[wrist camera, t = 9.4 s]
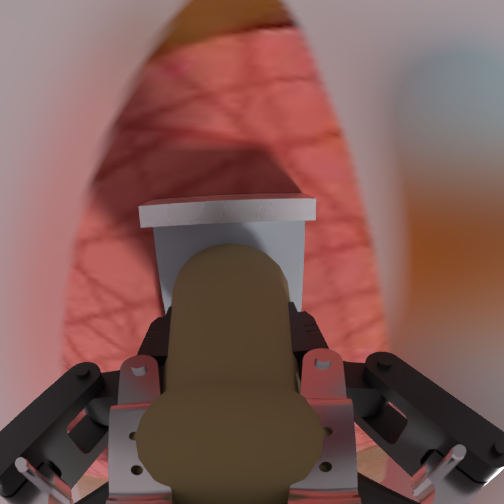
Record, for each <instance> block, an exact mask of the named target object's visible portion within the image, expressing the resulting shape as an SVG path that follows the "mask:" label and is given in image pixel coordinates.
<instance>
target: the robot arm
mask: <svg viewBox="0 0 504 504" xmlns="http://www.w3.org/2000/svg"><path fill="white" fill-rule="evenodd" d="M288 308H289V320H290V332H291V345H292V352H293V354H294V356H295V358H296V359H297V361H298V367H299V376H300V385H301V386H300V395H302V396H304V397H305V398H306V400H307V402H308V403H309V404H310V406H311V407H312V408H313V409H314V410H315V411H316V413H317V415H318V418H319V420H320V423H321V426H322V428H324V429H326V430H327V431H328V432H329V433H330V436H324V438H323V446H322V454H321V457H320V458H319V460H318V461H317V463H316V464H315V466H314V467H313V469H312V470H311V472H310V473H309V475H308V476H307V477H306V479H304V480H302V481H299V482H297V483H295V484H292V485H290V489H289V494H288V498H287V503H286V504H470V503H471V501H472V500H473V499H474V498H475V497H476V495H477V494H478V493H479V491H480V490H481V488H482V487H483V486H485V485H486V484H487V483H488V482H489V481H490V480H492V479H493V478H494V477H495V476H496V475H497V474H498V473H499V472H501V471H502V470H503V469H504V432H503V431H502V430H500V429H499V428H497V427H496V426H494V425H493V424H492V423H490V422H489V421H487V420H486V419H484V418H483V417H482V416H480V415H479V414H478V413H476V412H475V411H473V410H472V409H471V408H469V407H467V406H466V405H465V404H463V403H462V402H460V401H459V400H458V399H456V398H455V397H454V396H452V395H451V394H449V393H448V392H446V391H445V390H444V389H442V388H441V387H439V386H438V385H437V384H435V383H434V382H432V381H431V380H430V379H428V378H427V377H425V376H424V375H422V374H421V373H420V372H418V371H417V370H415V369H414V368H413V367H411V366H410V365H408V364H407V363H406V362H404V361H403V360H401V359H400V358H398V357H397V356H395V355H394V354H391V353H388V352H376V353H373V354H371V355H369V356H368V357H367V359H366V362H365V363H353V362H346V361H343V359H342V357H341V356H340V354H338V353H337V352H335V351H333V350H330V349H329V348H328V346H327V343H326V341H325V339H324V337H323V335H322V333H321V331H320V330H319V327H318V325H317V323H316V321H315V320H314V318H313V316H311V315H310V314H308V313H307V312H306V311H304V312H298V311H297V309H296V306H295V304H294V302H288ZM171 313H172V306H170V307H169V308H168V310H167V313H166V315H165V317H158V318H157V319H156V320H154V321H153V322H152V323H151V325H150V327H149V329H148V332H147V333H146V336H145V338H144V340H143V342H142V344H141V347H140V349H139V351H138V354H137V355H136V356H133V357H130V358H128V359H127V360H125V361H124V362H123V364H122V365H121V368H120V370H118V371H112V372H105V373H101V371H100V369H99V367H98V366H97V365H96V364H94V363H91V362H83V363H79V364H77V365H75V366H73V367H72V368H71V369H70V370H68V371H67V372H66V373H65V374H64V375H63V376H61V377H60V378H59V379H58V380H57V381H56V382H55V383H54V384H52V385H51V386H50V387H49V388H48V389H47V390H45V391H44V392H43V393H42V394H41V395H40V396H39V397H38V398H36V399H35V400H34V401H33V402H32V403H31V404H30V405H29V406H28V407H26V408H25V409H24V410H23V411H22V412H21V413H20V414H19V415H18V416H17V417H15V418H14V419H13V420H12V421H11V422H10V423H9V424H8V425H7V426H6V427H5V428H3V429H2V430H1V431H0V497H2V498H3V499H4V500H6V501H7V502H8V503H9V504H73V500H72V498H71V497H72V495H71V489H72V488H73V487H74V485H75V484H76V483H77V482H78V480H79V479H80V478H81V477H82V476H83V474H84V473H85V472H86V471H87V469H88V468H89V467H90V466H91V465H92V463H93V462H94V461H95V460H96V458H97V457H98V456H99V455H100V454H101V452H102V451H103V450H104V449H105V447H106V446H107V445H108V477H109V481H108V482H106V483H105V484H103V485H102V486H101V487H99V488H98V489H96V490H95V491H93V492H92V493H90V494H89V495H87V496H85V497H84V498H82V499H81V500H79V501H78V502H76V503H74V504H179V503H178V501H177V499H176V498H175V496H174V494H173V492H172V489H171V487H168V486H165V485H163V484H160V483H158V482H157V481H155V480H154V479H153V478H152V477H151V475H150V474H149V473H148V471H147V470H146V469H145V467H144V466H143V464H142V463H141V461H140V460H139V459H138V453H137V447H136V440H131V438H132V436H133V435H134V433H136V432H137V429H138V426H139V423H140V419H141V417H142V416H143V414H144V413H145V412H146V410H147V409H148V408H149V406H150V405H151V402H153V401H154V400H155V399H156V398H158V397H159V396H160V395H162V394H163V391H162V384H163V371H164V364H165V361H166V359H167V357H168V346H169V334H170V323H171ZM389 401H390V402H391V403H392V404H393V405H394V406H396V407H397V408H398V409H399V410H400V411H401V412H403V413H404V414H405V416H406V418H407V419H406V418H405V417H403V416H402V415H401V414H400V413H399V412H398V411H396V410H395V409H394V408H393V407H392V406H391V405H389V404H388V403H389ZM83 409H84V410H85V412H86V415H85V416H84V417H83V418H82V420H81V421H80V422H79V423H78V424H77V425H76V426H75V427H74V428H73V429H72V430H71V431H70V432H69V433H67V427H68V425H69V423H70V422H71V421H72V420H73V419H74V418H75V417H76V416H77V415H78V414H79V413H80V412H81V411H82V410H83ZM354 422H355V423H356V424H357V425H358V426H359V427H360V428H361V429H362V430H363V431H364V432H365V433H366V434H367V435H368V436H369V437H370V438H371V439H372V440H373V441H374V442H375V443H377V444H378V445H379V446H380V447H381V448H382V449H383V450H384V451H385V452H386V453H387V454H388V455H389V456H390V457H391V458H392V459H393V460H394V461H395V462H396V463H397V464H398V465H400V466H401V467H402V468H403V469H404V470H405V471H406V472H407V473H408V474H409V475H410V476H411V477H412V480H411V487H412V494H413V495H414V496H415V497H418V500H419V503H418V502H416V501H414V500H411V499H409V498H407V497H405V496H403V495H401V494H399V493H397V492H395V491H392V490H390V489H388V488H386V487H385V486H383V485H381V484H379V483H377V482H375V481H373V480H371V479H369V478H368V477H366V476H364V475H362V474H361V473H359V472H357V453H356V437H355V424H354ZM320 465H323V466H325V467H326V468H327V470H328V472H322V471H320V469H319V466H320ZM139 468H143V472H142V474H140V475H137V470H138V469H139Z"/></svg>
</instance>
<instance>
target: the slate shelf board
mask: <svg viewBox="0 0 504 504" xmlns="http://www.w3.org/2000/svg"><path fill="white" fill-rule="evenodd" d="M153 234H154V242H155V250H156V258H157V265H158V272H159V279H160V285H161V291H162V297H163V303H164V308H165V314H166V313H167V310H168V308H169V307H170V306H171V301H172V294H173V288H174V283H175V281H176V279H177V276H178V274H179V271H180V269H181V268H182V267H183V266H184V265H185V263H186V262H187V261H188V260H189V259H190V258H191V257H192V256H193V255H195V254H197V253H199V252H200V251H202V250H204V249H206V248H208V247H210V246H216V245H221V244H227V243H232V244H240V245H248V246H251V247H253V248H255V249H257V250H260V251H262V252H264V253H266V254H267V255H268V256H269V257H270V258H272V259H273V260H274V261H275V262H276V263H277V264H278V265H279V266H280V268H281V270H282V271H283V273H284V275H285V277H286V279H287V281H288V287H289V294H290V302H294V304H295V306H296V309H297V311H298V312H301V305H302V289H303V269H304V242H305V220H301V221H264V222H237V223H214V224H194V225H177V226H160V227H153Z"/></svg>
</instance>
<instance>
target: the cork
mask: <svg viewBox="0 0 504 504" xmlns="http://www.w3.org/2000/svg"><path fill="white" fill-rule="evenodd" d="M288 302H290V294H289V287H288V281H287V279H286V277H285V275H284V273H283V271H282V270H281V268H280V266H279V265H278V264H277V263H276V262H275V261H274V260H273V259H272V258H270V257H269V256H268V255H267V254H266V253H264V252H262V251H260V250H257V249H255V248H253V247H251V246H248V245H240V244H232V243H227V244H221V245H216V246H210V247H208V248H206V249H204V250H202V251H200V252H199V253H197V254H195V255H193V256H192V257H191V258H190V259H189V260H188V261H187V262H186V263H185V265H184V266H183V267H182V268H181V269H180V271H179V274H178V276H177V279H176V281H175V283H174V288H173V294H172V301H171V306H172V313H171V323H170V334H169V346H168V357H167V359H166V361H165V364H164V371H163V384H162V391H163V394H162V395H160V396H159V397H158V398H156V399H155V400H154V401H153V402H151V405H150V406H149V408H148V409H147V410H146V412H145V413H144V414H143V416H142V417H141V419H140V423H139V426H138V429H137V432H136V433H134V435H133V436H132V438H131V440H136V447H137V453H138V459H139V460H140V461H141V463H142V464H143V466H144V467H145V469H146V470H147V471H148V473H149V474H150V475H151V477H152V478H153V479H154V480H155V481H157V482H158V483H160V484H163V485H165V486H168V487H171V489H172V492H173V494H174V496H175V498H176V499H177V501H178V503H179V504H286V503H287V498H288V494H289V489H290V485H292V484H295V483H297V482H299V481H302V480H304V479H306V477H307V476H308V475H309V473H310V472H311V470H312V469H313V467H314V466H315V464H316V463H317V461H318V460H319V458H320V457H321V454H322V446H323V438H324V436H330V433H329V432H328V431H327V430H326V429H324V428H322V426H321V423H320V420H319V418H318V415H317V413H316V411H315V410H314V409H313V408H312V407H311V406H310V404H309V403H308V402H307V400H306V398H305V397H304V396H302V395H300V386H301V385H300V376H299V367H298V361H297V359H296V358H295V356H294V354H293V352H292V345H291V332H290V320H289V308H288ZM319 469H320V471H322V472H328V470H327V468H326V467H325V466H323V465H320V466H319ZM142 472H143V468H139V469H138V470H137V475H140V474H142Z"/></svg>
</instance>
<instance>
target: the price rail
mask: <svg viewBox="0 0 504 504" xmlns="http://www.w3.org/2000/svg"><path fill="white" fill-rule="evenodd" d="M138 207H139V217H140V226H141V228H145V227H160V226H177V225H194V224H214V223H237V222H264V221H301V220H316V198H314V197H311V196H309V195H307V194H304V193H257V194H229V195H208V196H191V197H177V198H164V199H153V200H151V201H149V202H147V203H144V204H142V205H140V206H138Z"/></svg>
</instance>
